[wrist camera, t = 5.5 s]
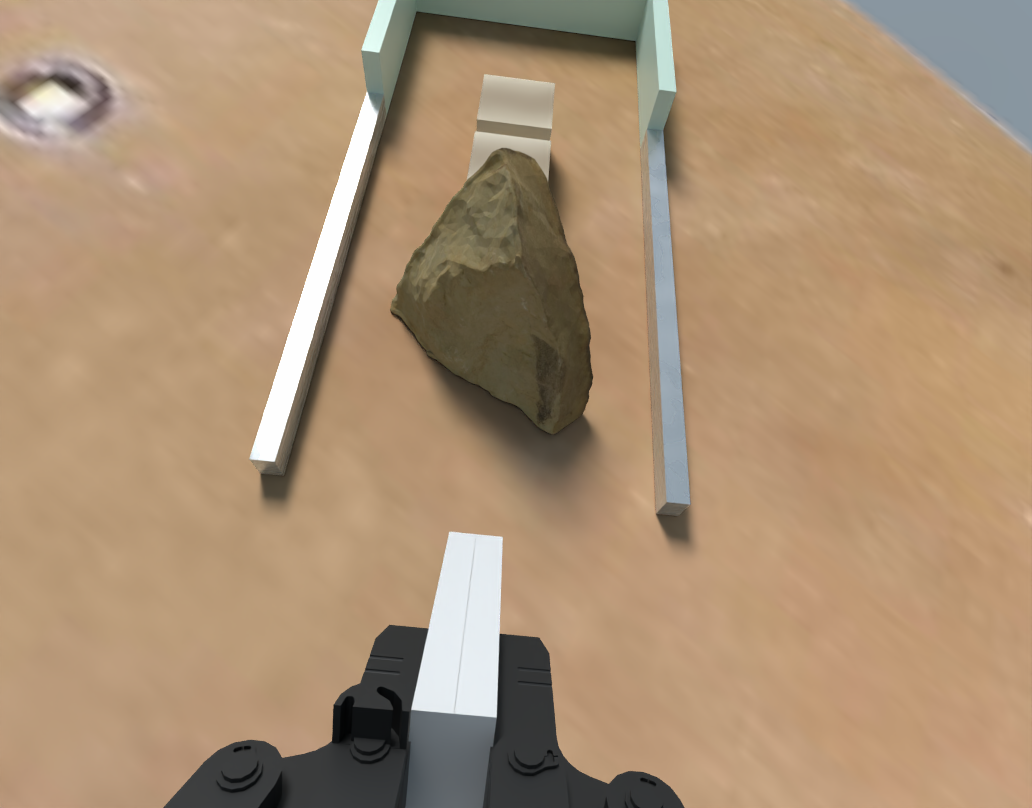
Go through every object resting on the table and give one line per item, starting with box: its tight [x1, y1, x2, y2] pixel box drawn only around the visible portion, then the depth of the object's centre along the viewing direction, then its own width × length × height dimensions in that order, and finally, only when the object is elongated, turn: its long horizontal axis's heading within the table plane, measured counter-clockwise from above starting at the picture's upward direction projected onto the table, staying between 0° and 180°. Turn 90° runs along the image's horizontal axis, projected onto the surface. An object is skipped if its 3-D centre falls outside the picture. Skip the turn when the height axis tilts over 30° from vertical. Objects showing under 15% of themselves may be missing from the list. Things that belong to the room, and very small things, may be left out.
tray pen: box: [361, 0, 676, 149], centre depth 39 cm, size 13×18×4 cm
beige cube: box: [477, 74, 555, 141], centre depth 34 cm, size 4×4×4 cm
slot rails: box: [250, 92, 690, 516], centre depth 31 cm, size 24×18×2 cm
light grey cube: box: [467, 131, 551, 180], centre depth 32 cm, size 4×4×4 cm
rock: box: [390, 148, 593, 434], centre depth 26 cm, size 10×8×10 cm
